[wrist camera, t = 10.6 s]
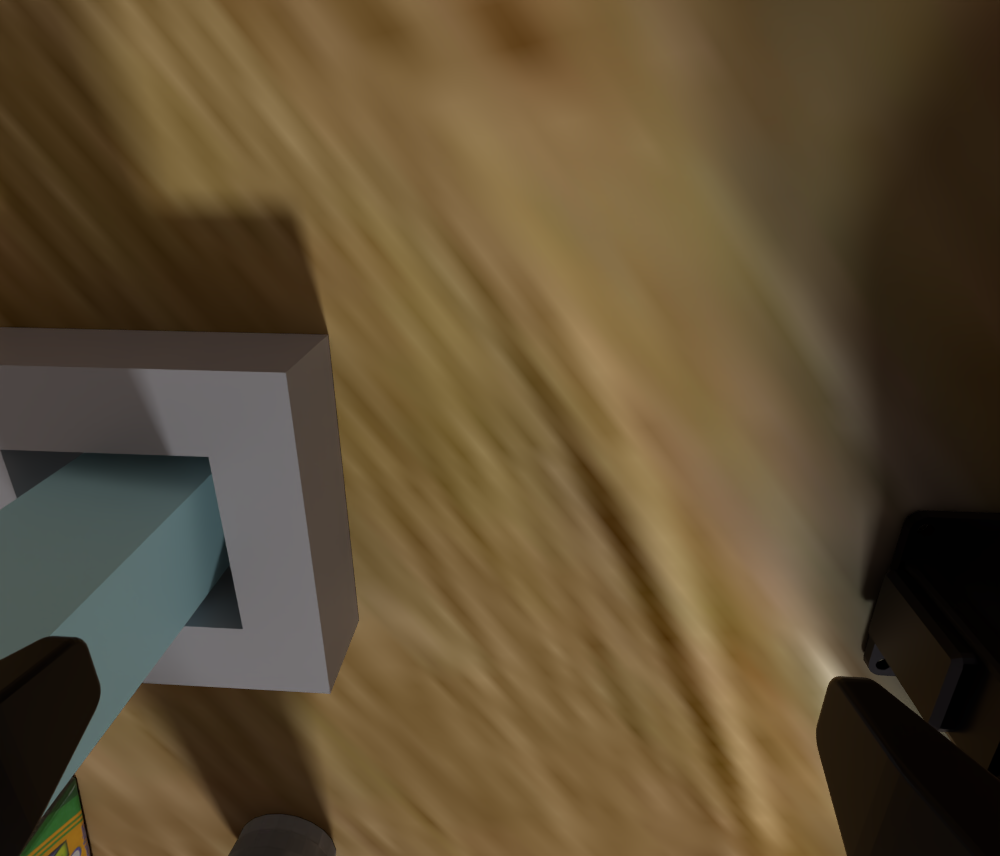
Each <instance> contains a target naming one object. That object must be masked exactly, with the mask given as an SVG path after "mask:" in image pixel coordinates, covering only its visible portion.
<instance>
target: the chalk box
mask: <svg viewBox="0 0 1000 856" xmlns="http://www.w3.org/2000/svg"><path fill="white" fill-rule="evenodd" d="M20 856H90V850H89V845H88V841H87V837H86V831H85V826H84V820H83V816H82V811H81V805H80V801H79V795H78V790H77V784H76V778H74V777H72V778H71V779H70V780H69V781H68V783H67V784H66V785H65V787H64V788H63V789H62V791H61V792H60V793H59V795H58V796H57V797H56V799H55V800H54V802H53V803H52V804H51V806H50V807H49V808H48V810H47V811H46V812H45V814H44V815H43V816H42V818H41V819H40V821H39V823H38V825H37V826H36V828H35V830H34V832H33V834H32V835H31V837H30V839H29V841H28V842H27V844H26V846H25V847H24V849H23V851H22V852H21V854H20Z"/></svg>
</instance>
